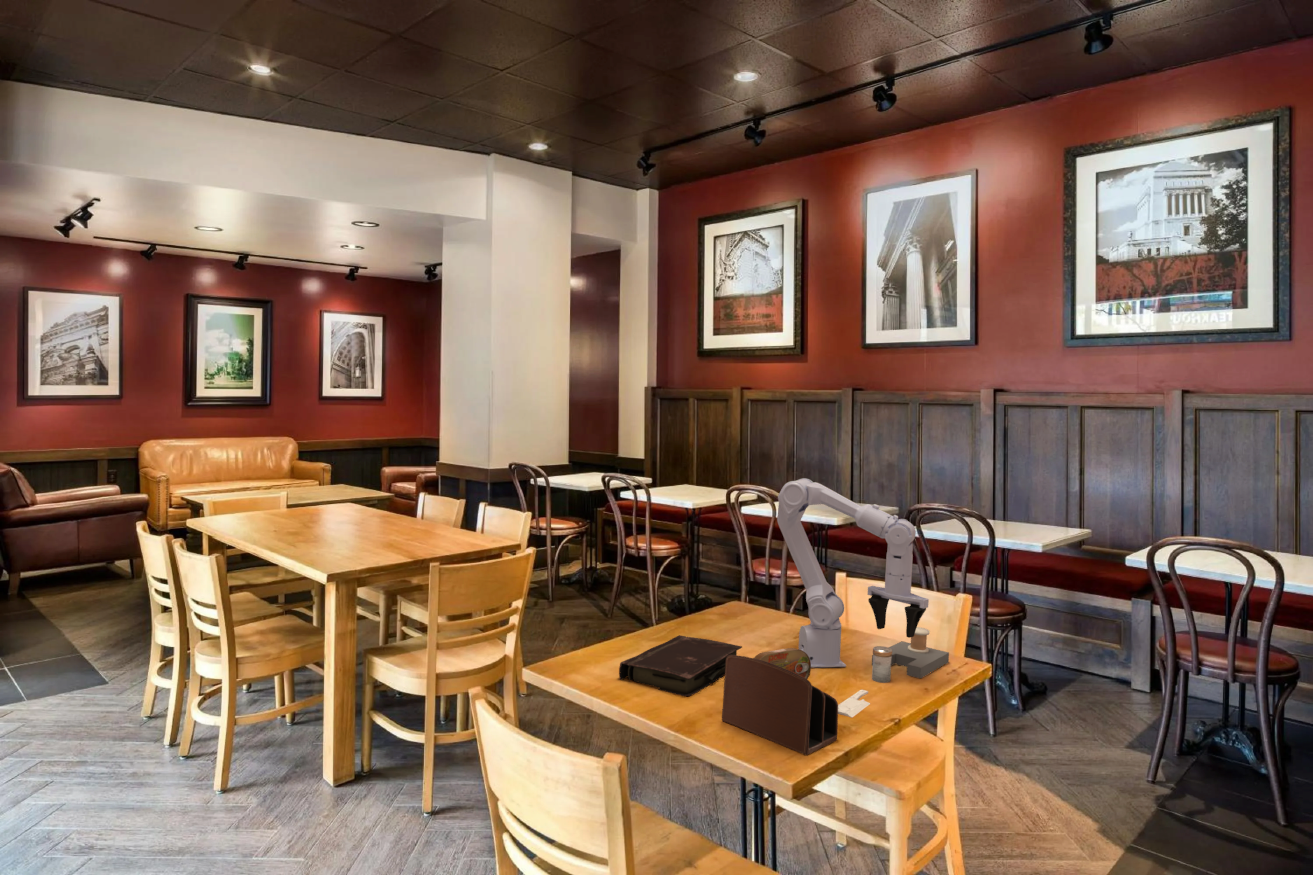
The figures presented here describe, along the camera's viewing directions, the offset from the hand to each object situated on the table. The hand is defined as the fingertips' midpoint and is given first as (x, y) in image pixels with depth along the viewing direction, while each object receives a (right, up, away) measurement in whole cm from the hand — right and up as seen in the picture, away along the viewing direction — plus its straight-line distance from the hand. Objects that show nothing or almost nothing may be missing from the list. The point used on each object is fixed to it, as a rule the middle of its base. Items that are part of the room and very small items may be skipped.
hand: (895, 632), depth 185 cm
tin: (-28, -10, -10) cm, 32 cm away
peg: (-4, -10, -3) cm, 11 cm away
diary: (-49, -9, -2) cm, 49 cm away
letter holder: (-32, -11, -32) cm, 47 cm away
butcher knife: (-13, -11, -18) cm, 25 cm away
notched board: (+6, -10, +9) cm, 14 cm away
